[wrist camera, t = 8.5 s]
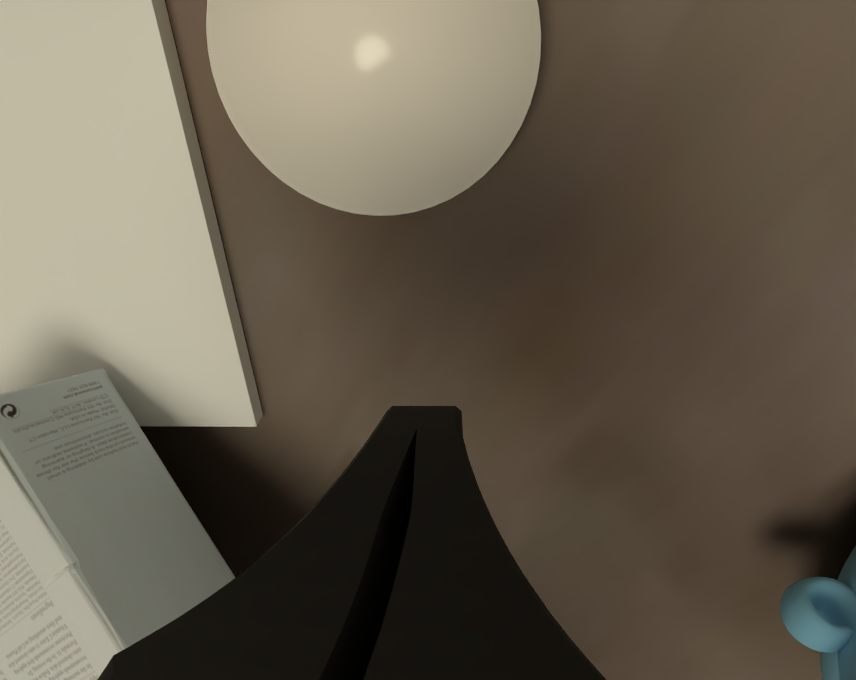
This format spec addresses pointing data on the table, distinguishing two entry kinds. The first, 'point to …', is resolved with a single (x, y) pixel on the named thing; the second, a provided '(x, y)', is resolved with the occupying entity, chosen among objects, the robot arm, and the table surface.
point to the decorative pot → (826, 619)
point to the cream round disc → (376, 92)
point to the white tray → (112, 218)
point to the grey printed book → (89, 533)
